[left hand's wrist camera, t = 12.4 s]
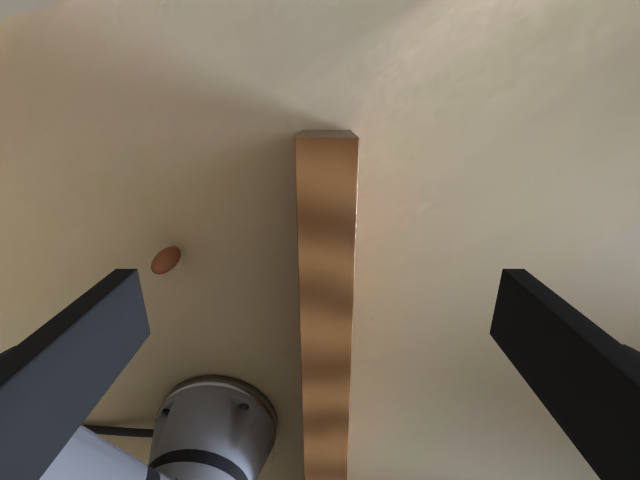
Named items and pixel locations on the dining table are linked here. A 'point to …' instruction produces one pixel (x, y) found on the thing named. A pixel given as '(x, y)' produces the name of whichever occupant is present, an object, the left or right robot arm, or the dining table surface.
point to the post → (326, 293)
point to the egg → (165, 260)
